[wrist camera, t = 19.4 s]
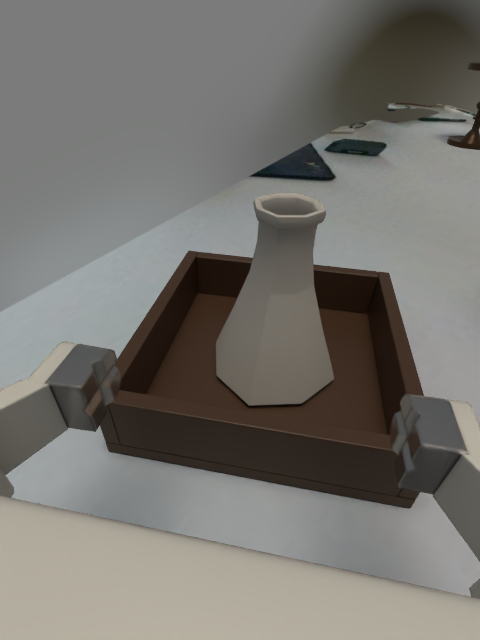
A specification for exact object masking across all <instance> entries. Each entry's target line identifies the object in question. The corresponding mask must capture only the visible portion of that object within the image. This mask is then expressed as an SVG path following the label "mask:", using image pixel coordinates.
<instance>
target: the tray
mask: <svg viewBox="0 0 480 640" xmlns="http://www.w3.org/2000/svg"><path fill="white" fill-rule="evenodd" d="M252 260H253V258H249V257H240V256H231V255H221V254H212V253H203V252H199V253H198V252H195V251H188V253H187V254H186V256H185V257H184V259H183V260H182V262H181V263H180V265H179V266H178V268H177V269H176V271H175V272H174V274H173V275H172V277H171V278H170V280H169V281H168V283H167V285H166V286H165V288H164V289H163V291H162V292H161V294H160V295H159V297H158V298H157V300H156V301H155V303H154V304H153V306H152V307H151V309H150V310H149V312H148V313H147V315H146V316H145V318H144V320H143V321H142V323H141V324H140V326H139V327H138V329H137V330H136V332H135V333H134V335H133V336H132V338H131V339H130V341H129V342H128V344H127V345H126V347H125V348H124V350H123V351H122V353H121V354H120V356H119V358H118V359H117V361H116V362H115V364H114V365H115V366H116V367H117V368H118V369H119V370H120V374H121V385H120V389H119V393H118V395H117V396H116V398H115V400H114V401H113V402H111V403H110V404H108V405H106V406H105V407H106V412H107V414H106V415H105V417H104V419H103V420H102V422H101V424H100V427H101V430H102V433H103V436H104V438H105V441H106V445H107V447H108V450H109V451H111V452H116V453H122V454H127V455H132V456H137V457H143V458H148V459H153V460H158V461H164V462H169V463H174V464H180V465H185V466H190V467H195V468H201V469H206V470H211V471H216V472H222V473H227V474H232V475H237V476H243V477H248V478H253V479H258V480H264V481H269V482H274V483H279V484H285V485H290V486H295V487H301V488H306V489H311V490H316V491H322V492H327V493H332V494H337V495H343V496H348V497H353V498H358V499H364V500H369V501H374V502H379V503H385V504H390V505H395V506H401V507H406V508H411V506H412V505H413V503H414V502H415V499H416V498H417V496H418V495H419V493H420V492H419V491H414V490H409V489H404V488H400V487H398V482H397V477H396V471H395V466H394V463H395V461H396V459H397V457H398V455H397V454H396V453H395V452H394V450H393V449H392V448H391V441H390V428H391V422H392V419H393V417H394V414H395V413H397V412H399V411H401V407H400V401H401V399H402V397H403V396H404V395H405V394H412V395H419V396H424V395H423V391H422V388H421V384H420V381H419V377H418V374H417V370H416V367H415V363H414V360H413V356H412V353H411V349H410V345H409V342H408V338H407V335H406V331H405V328H404V324H403V321H402V317H401V314H400V310H399V307H398V303H397V300H396V296H395V293H394V289H393V286H392V282H391V279H390V275H389V273H385V272H378V273H377V272H376V271H367V270H358V269H349V268H340V267H331V266H322V265H313V272H314V288H315V293H316V298H317V303H318V308H319V313H320V318H321V323H322V328H323V332H324V337H325V341H326V345H327V349H328V353H329V357H330V361H331V365H332V370H333V375H334V380H332V381H331V382H330V383H328V384H327V385H326V386H324V387H323V388H322V389H320V390H319V391H318V392H316V393H315V394H314V395H312V396H311V397H310V398H308V399H307V400H306V401H304V402H303V403H302V404H278V405H250V406H249V405H248V404H247V403H246V402H245V401H244V400H242V399H241V398H240V397H239V396H238V395H237V394H236V393H235V392H234V391H233V390H232V389H231V388H229V387H228V386H227V385H226V384H225V383H224V382H223V381H222V380H221V379H220V378H219V377H218V376H217V375H216V341H217V339H218V337H219V335H220V333H221V331H222V329H223V327H224V325H225V323H226V321H227V319H228V317H229V315H230V313H231V311H232V309H233V307H234V305H235V303H236V300H237V298H238V296H239V294H240V291H241V289H242V287H243V285H244V283H245V280H246V278H247V276H248V274H249V271H250V268H251V264H252Z"/></svg>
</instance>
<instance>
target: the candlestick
mask: <svg viewBox="0 0 480 640" xmlns="http://www.w3.org/2000/svg"><path fill="white" fill-rule="evenodd" d="M467 69H470V70H475V71H480V62H469V64H468V67H467ZM477 109H479V110H478V112H477V115H476V117H473V119H475V122H474V124H473V127H472V129H471V130H470V131H469V132H468V133H467V134H466V135H465V136H450V137H449V138H448V141H447V143H448V144H450V145H453V146H457V147H462V148H469V149H480V134H479V128H480V102H478V103H477Z"/></svg>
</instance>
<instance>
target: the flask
mask: <svg viewBox="0 0 480 640" xmlns="http://www.w3.org/2000/svg"><path fill="white" fill-rule="evenodd" d="M254 209H255V213H256V217H257V219H258V221H259V226H258V239H257V244H256V248H255V252H254V256H253V260H252V264H251V268H250V271H249V274H248V276H247V278H246V280H245V283H244V285H243V287H242V289H241V291H240V294H239V296H238V298H237V300H236V303H235V305H234V307H233V309H232V311H231V313H230V315H229V317H228V319H227V321H226V323H225V325H224V327H223V329H222V331H221V333H220V335H219V337H218V339H217V341H216V375H217V376H218V377H219V378H220V379H221V380H222V381H223V382H224V383H225V384H226V385H227V386H228V387H229V388H231V389H232V390H233V391H234V392H235V393H236V394H237V395H238V396H239V397H240V398H241V399H242V400H244V401H245V402H246V403H247V404H248V405H249V406H250V405H278V404H302V403H303V402H304V401H306V400H307V399H308V398H310V397H311V396H312V395H314V394H315V393H316V392H318V391H319V390H320V389H322V388H323V387H324V386H326V385H327V384H328V383H330V382H331V381H332V380H334V375H333V370H332V365H331V361H330V357H329V353H328V349H327V345H326V341H325V337H324V332H323V328H322V323H321V318H320V313H319V308H318V303H317V298H316V293H315V288H314V272H313V247H314V240H315V233H316V229H317V225H318V224H319V223H322V222H323V220H324V218H325V216H326V210H325V208H324V207H323V205H322V204H321V202H320V201H319V200H316V199H313V198H310V197H308V196H305V195H302V194H299V193H273V194H269V195H266V196H262V197H258V198H255V199H254Z"/></svg>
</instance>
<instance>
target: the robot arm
mask: <svg viewBox="0 0 480 640" xmlns="http://www.w3.org/2000/svg"><path fill="white" fill-rule="evenodd" d="M116 360H117V358H116V355H115V351H113V350H111V349H105V348H99V347H94V346H88V345H83V344H75V343H70V342H62V343H60V344H58V345H57V346H56V348H55V349H54V350H53V351H52V352H51V353H50V354H49V355H48V357H47V358H46V359H45V360H44V361H43V362H42V363H41V364H40V366H39V367H38V368H37V369H36V370H35V371H34V372H33V373H32V374H31V376H30V377H29V378H28V379H27V380H26V381H25V380H20V381H18V382H16V383H14V384H12V385H9V386H7V387H5V388H3V389H1V390H0V640H480V579H479V580H478V581H476V582H475V583H474V584H473V585H472V586H471V587H470V588H469V590H470V593H471V597H469V596H465V595H460V594H455V593H451V592H446V591H441V590H437V589H432V588H427V587H423V586H418V585H414V584H409V583H404V582H400V581H395V580H390V579H386V578H381V577H376V576H372V575H367V574H362V573H358V572H353V571H349V570H344V569H339V568H335V567H330V566H325V565H321V564H316V563H311V562H307V561H302V560H297V559H293V558H288V557H284V556H279V555H274V554H270V553H265V552H260V551H256V550H251V549H246V548H242V547H237V546H232V545H228V544H223V543H219V542H214V541H209V540H205V539H200V538H195V537H191V536H186V535H181V534H177V533H172V532H167V531H163V530H158V529H154V528H149V527H144V526H140V525H135V524H130V523H126V522H121V521H116V520H112V519H107V518H102V517H98V516H93V515H88V514H84V513H79V512H74V511H70V510H65V509H60V508H56V507H51V506H46V505H42V504H37V503H33V502H28V501H23V500H19V499H14V498H11V497H12V495H13V494H14V487H13V486H12V484H11V483H10V481H9V480H8V478H7V477H6V476H5V475H6V474H8V473H9V472H10V471H12V470H13V469H14V468H16V467H17V466H18V465H20V464H21V463H23V462H24V461H25V460H27V459H28V458H29V457H31V456H32V455H33V454H35V453H36V452H38V451H39V450H40V449H42V448H43V447H44V446H46V445H47V444H48V443H50V442H51V441H52V440H54V439H55V438H57V437H58V436H59V435H61V434H62V433H63V432H65V431H66V430H67V429H68V428H74V429H80V430H87V431H94V432H96V430H97V429H98V427H99V425H100V424H101V422H102V420H103V419H104V417H105V415H106V414H107V412H106V407H105V406H106V405H108V404H110V403H111V402H113V401H114V400H115V398H116V396H117V395H118V393H119V389H120V385H121V374H120V370H119V369H118V368H117V367H116V366H115V365H114V363H115V362H116ZM400 407H401V411H399V412H397V413H395V414H394V417H393V419H392V422H391V428H390V441H391V448H392V449H393V450H394V452H395V453H396V454H397V455H398V457H397V459H396V461H395V463H394V466H395V471H396V477H397V482H398V487H400V488H404V489H409V490H414V491H419V492H424V493H428V494H433V497H434V499H435V500H436V501H437V503H438V504H439V506H440V507H441V508H442V510H443V511H444V512H445V514H446V515H447V517H448V518H449V519H450V521H451V522H452V524H453V525H454V526H455V528H456V529H457V531H458V532H459V533H460V535H461V536H462V538H463V539H464V540H465V542H466V543H467V544H468V546H469V547H470V549H471V550H472V551H473V553H474V554H475V556H476V557H477V558H478V560H479V561H480V425H479V423H478V421H477V418H476V416H475V413H474V411H473V409H472V406H471V405H470V404H469V403H468V402H461V401H454V400H445V399H440V398H433V397H426V396H419V395H412V394H405V395H404V396H403V397H402V399H401V401H400Z"/></svg>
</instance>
